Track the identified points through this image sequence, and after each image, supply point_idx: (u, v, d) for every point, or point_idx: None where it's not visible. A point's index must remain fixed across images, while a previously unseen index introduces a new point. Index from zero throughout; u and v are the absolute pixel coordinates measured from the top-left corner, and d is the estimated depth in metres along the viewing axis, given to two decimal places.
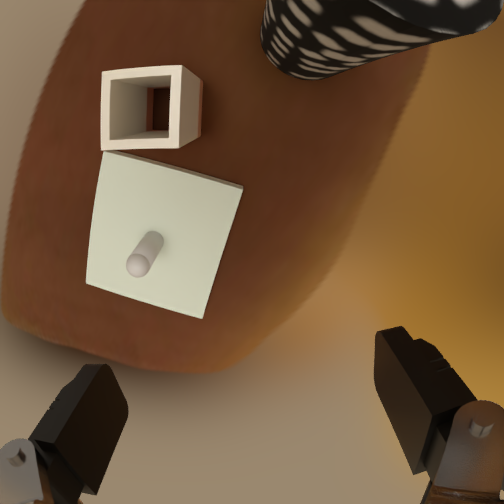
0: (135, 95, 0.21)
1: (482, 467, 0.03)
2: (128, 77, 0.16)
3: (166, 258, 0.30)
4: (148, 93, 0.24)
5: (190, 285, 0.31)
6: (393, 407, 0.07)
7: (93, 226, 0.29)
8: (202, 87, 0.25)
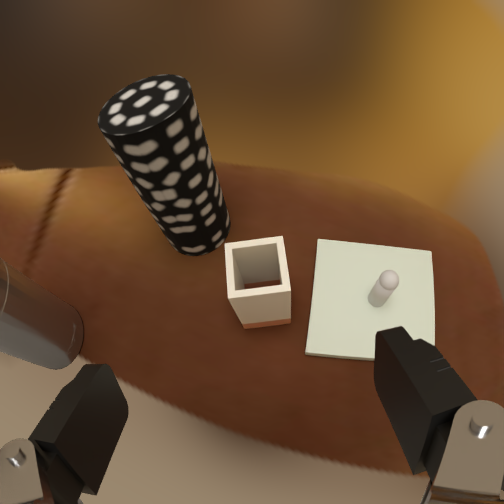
0: None
1: (481, 467, 0.03)
2: (233, 278, 0.27)
3: None
4: None
5: (405, 263, 0.34)
6: (393, 407, 0.07)
7: None
8: None
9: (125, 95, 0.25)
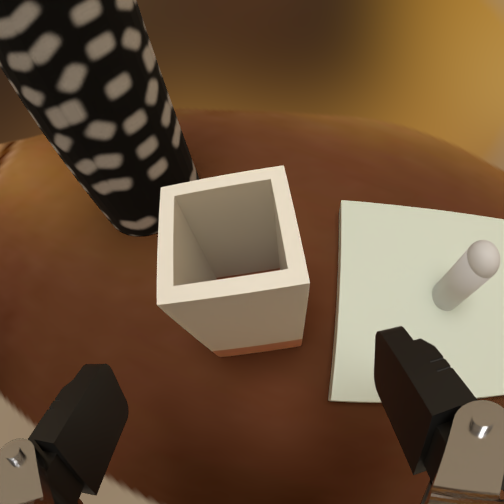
0: None
1: (481, 467, 0.03)
2: (173, 257, 0.11)
3: None
4: None
5: (478, 238, 0.19)
6: (393, 407, 0.07)
7: None
8: None
9: None
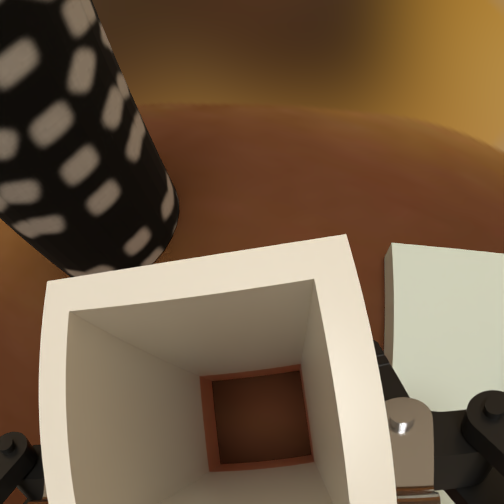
0: (211, 488, 0.07)
1: (408, 462, 0.04)
2: (73, 475, 0.03)
3: None
4: (224, 469, 0.10)
5: None
6: None
7: None
8: None
9: None
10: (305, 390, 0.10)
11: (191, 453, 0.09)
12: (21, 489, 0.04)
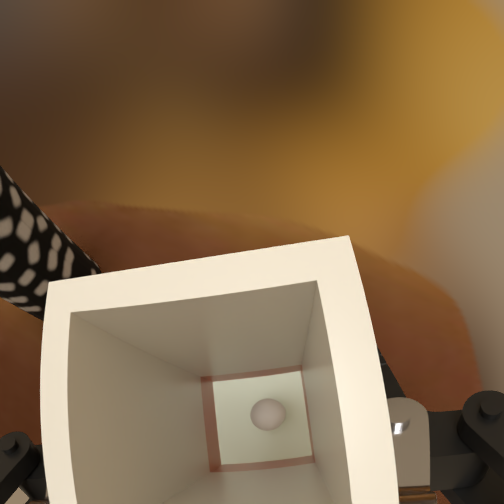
0: (212, 489, 0.07)
1: (404, 463, 0.04)
2: (75, 477, 0.03)
3: (293, 395, 0.22)
4: (225, 470, 0.10)
5: None
6: None
7: None
8: None
9: None
10: (306, 391, 0.10)
11: (192, 454, 0.09)
12: (24, 489, 0.04)
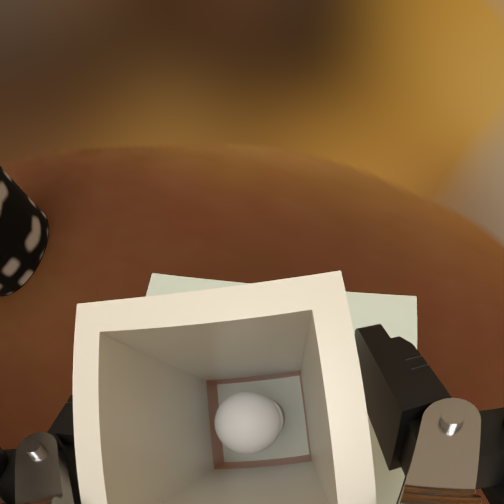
0: (217, 484, 0.08)
1: (454, 464, 0.03)
2: (104, 473, 0.04)
3: (297, 388, 0.14)
4: (228, 467, 0.11)
5: None
6: (371, 403, 0.07)
7: None
8: None
9: None
10: (304, 395, 0.11)
11: (199, 452, 0.09)
12: None
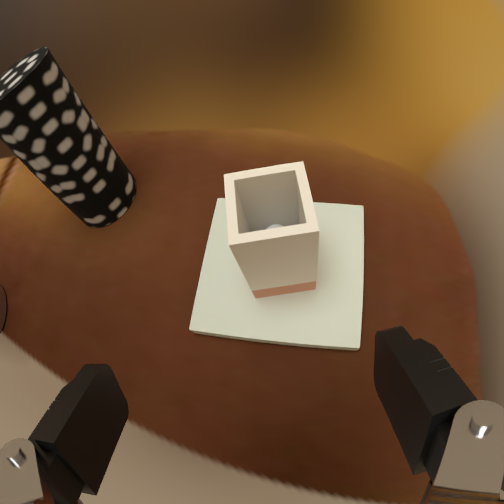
0: None
1: (481, 467, 0.03)
2: (236, 217, 0.19)
3: None
4: None
5: (325, 221, 0.29)
6: (393, 407, 0.07)
7: (276, 338, 0.25)
8: None
9: (4, 75, 0.20)
10: None
11: None
12: None
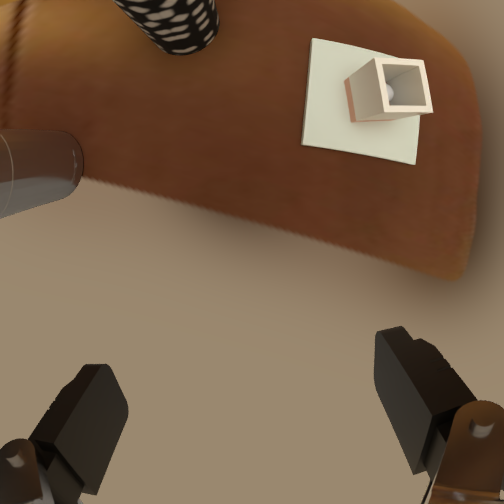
0: None
1: (481, 467, 0.03)
2: (386, 92, 0.23)
3: None
4: None
5: None
6: (393, 407, 0.07)
7: (365, 152, 0.34)
8: None
9: None
10: None
11: None
12: None
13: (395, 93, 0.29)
